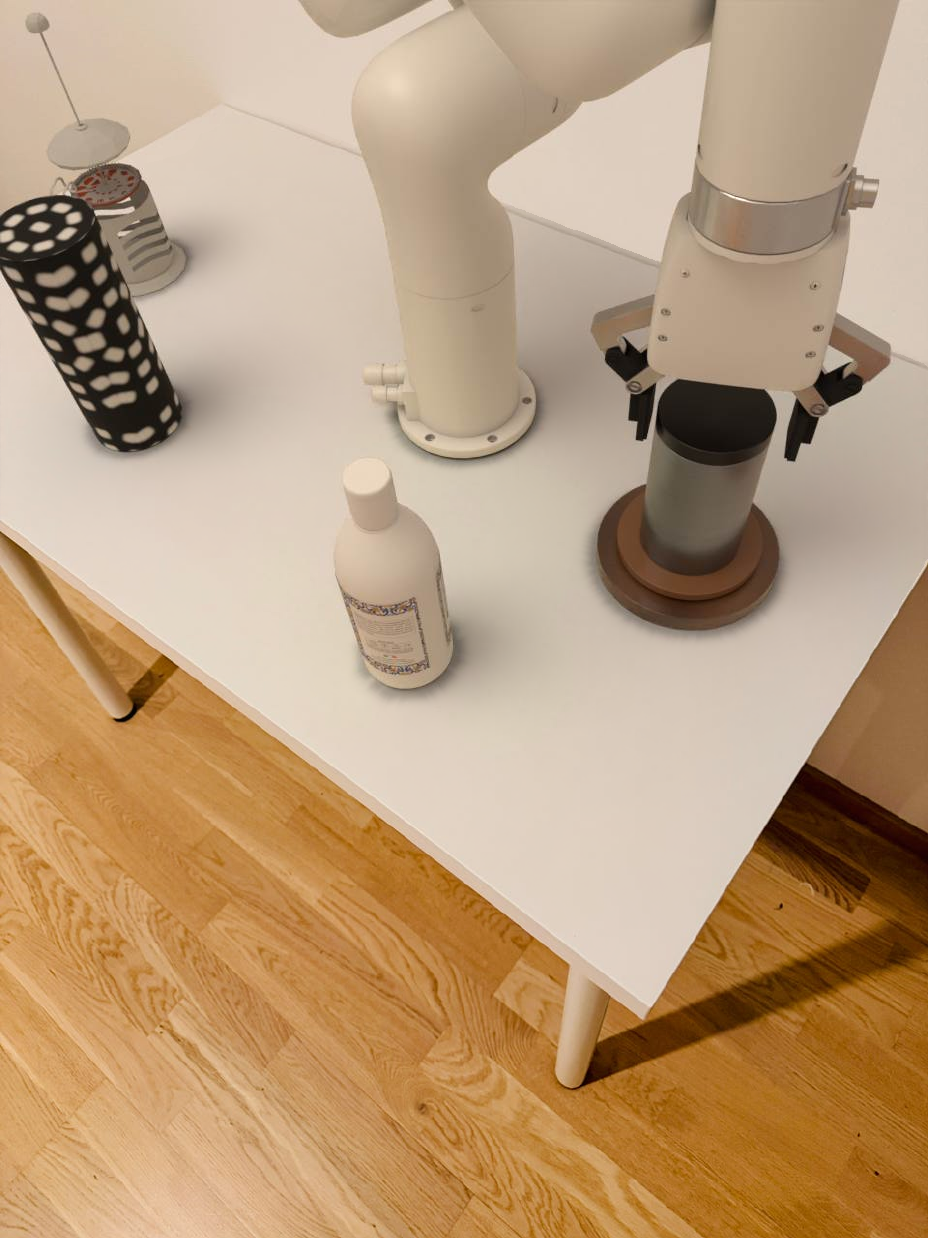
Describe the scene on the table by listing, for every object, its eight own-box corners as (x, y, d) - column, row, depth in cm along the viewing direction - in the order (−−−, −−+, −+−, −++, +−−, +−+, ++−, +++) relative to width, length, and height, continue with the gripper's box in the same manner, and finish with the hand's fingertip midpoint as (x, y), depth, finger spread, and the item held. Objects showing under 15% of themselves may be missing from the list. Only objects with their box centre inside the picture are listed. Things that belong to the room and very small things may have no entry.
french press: (204, 254, 99) (113, -2, 78) (131, 317, 94) (12, 61, 73) (140, 230, 102) (36, -22, 81) (65, 289, 97) (-66, 37, 76)
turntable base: (594, 626, 69) (595, 615, 68) (597, 487, 77) (598, 475, 75) (783, 634, 67) (788, 623, 66) (768, 491, 75) (771, 479, 74)
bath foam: (405, 598, 72) (364, 414, 55) (472, 644, 69) (450, 464, 52) (345, 658, 69) (282, 484, 52) (412, 708, 66) (368, 541, 50)
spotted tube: (199, 401, 86) (116, 206, 69) (148, 461, 82) (47, 270, 65) (129, 379, 88) (33, 186, 72) (76, 438, 84) (-39, 247, 68)
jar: (587, 535, 72) (596, 403, 60) (696, 463, 75) (725, 325, 63) (685, 626, 66) (716, 501, 55) (798, 544, 70) (850, 410, 58)
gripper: (946, 166, 46) (854, 413, 60) (610, 144, 50) (598, 382, 64) (948, 255, 42) (849, 497, 57) (583, 223, 46) (577, 458, 60)
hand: (716, 436), depth 60 cm, fingers open, 9 cm apart
